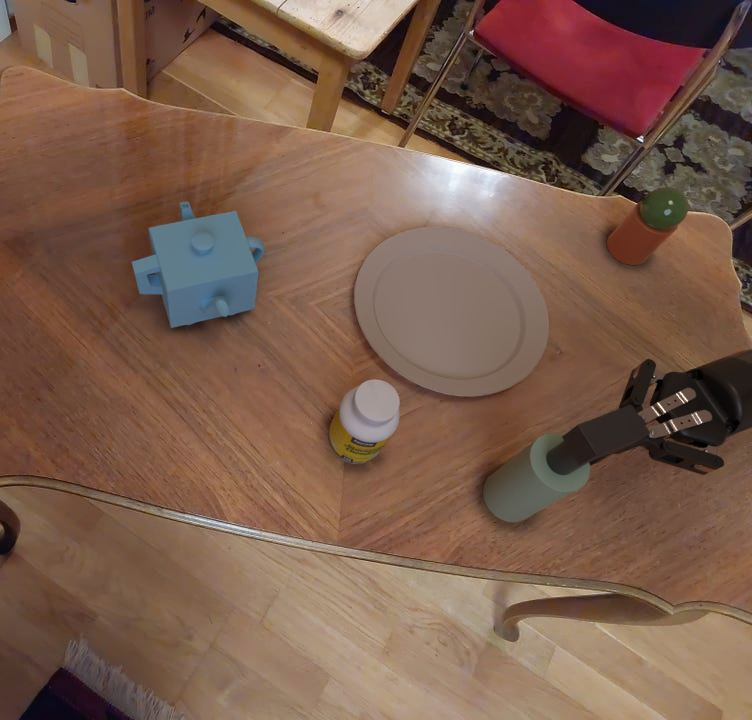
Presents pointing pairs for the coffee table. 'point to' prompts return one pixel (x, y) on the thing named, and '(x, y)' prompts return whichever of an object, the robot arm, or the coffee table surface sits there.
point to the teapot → (201, 267)
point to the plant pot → (648, 225)
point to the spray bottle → (558, 464)
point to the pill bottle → (364, 421)
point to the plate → (451, 311)
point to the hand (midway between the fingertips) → (605, 442)
